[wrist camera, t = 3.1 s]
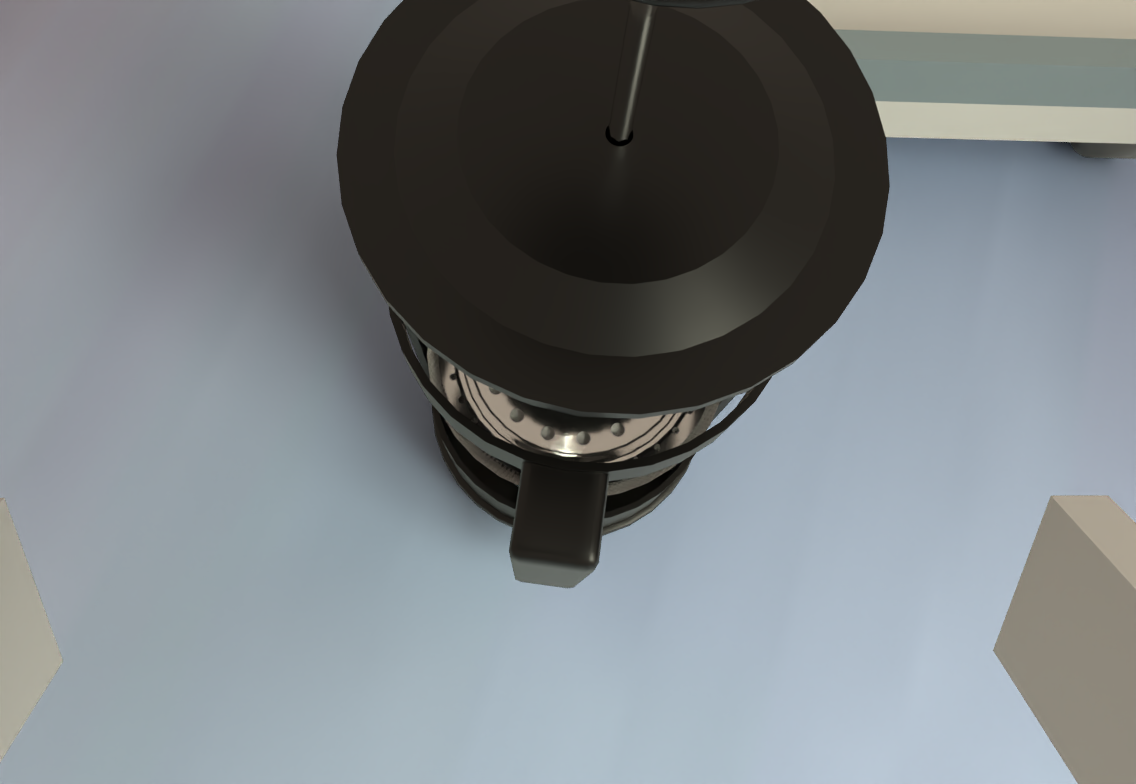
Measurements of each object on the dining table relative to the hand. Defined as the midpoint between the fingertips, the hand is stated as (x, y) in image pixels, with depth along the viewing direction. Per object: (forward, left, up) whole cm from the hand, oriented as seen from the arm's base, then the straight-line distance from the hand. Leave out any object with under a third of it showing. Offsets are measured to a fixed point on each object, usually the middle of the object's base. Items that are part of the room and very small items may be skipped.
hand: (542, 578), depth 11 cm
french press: (-1, -6, -18) cm, 19 cm away
